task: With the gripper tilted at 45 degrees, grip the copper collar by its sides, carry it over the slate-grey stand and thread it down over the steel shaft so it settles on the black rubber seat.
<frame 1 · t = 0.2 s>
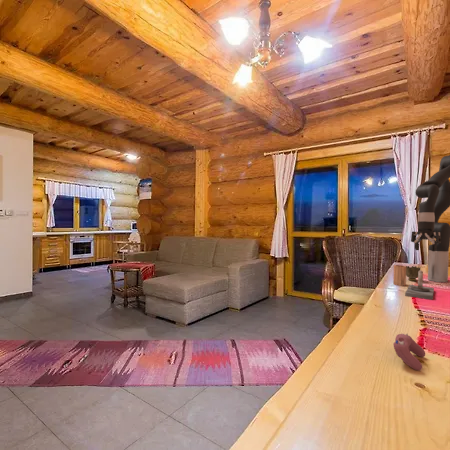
hand: (425, 250, 155), 18 cm above the table, tool pointing down, fingers open, 8 cm apart
cup: (412, 281, 161), on the table
copper collar: (399, 284, 151), on the table
shaft stand: (420, 293, 133), on the table
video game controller: (408, 361, 69), on the table
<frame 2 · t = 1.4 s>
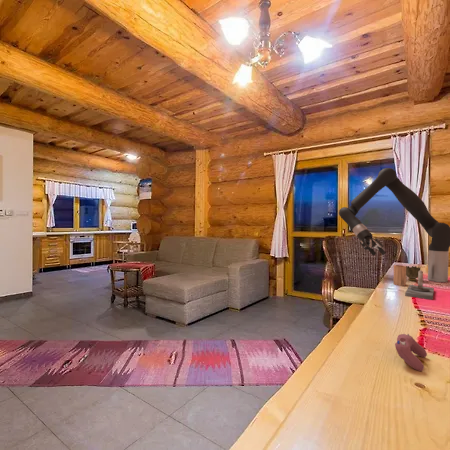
hand: (379, 254, 161), 15 cm above the table, tool tilted 45°, fingers open, 8 cm apart
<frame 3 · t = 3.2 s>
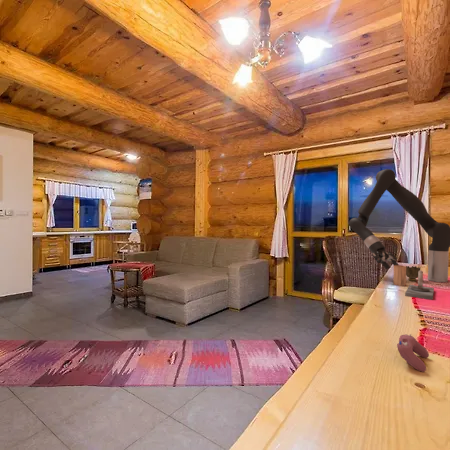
hand: (393, 267, 154), 8 cm above the table, tool tilted 45°, fingers open, 8 cm apart
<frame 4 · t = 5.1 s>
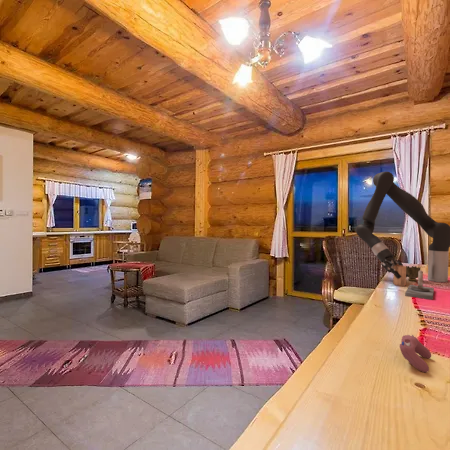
hand: (403, 277, 149), 4 cm above the table, tool tilted 45°, fingers closed on copper collar, 5 cm apart
copper collar: (399, 284, 151), on the table, touching gripper
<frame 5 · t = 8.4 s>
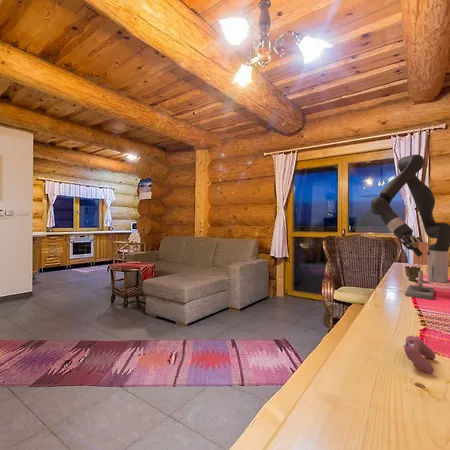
hand: (424, 255, 132), 18 cm above the table, tool tilted 45°, fingers closed on copper collar, 5 cm apart
copper collar: (420, 263, 133), point 14 cm above the table, touching gripper
when the fingers open (7 cm above the table, at t = 11.6 s): copper collar stays where it is, resting on shaft stand.
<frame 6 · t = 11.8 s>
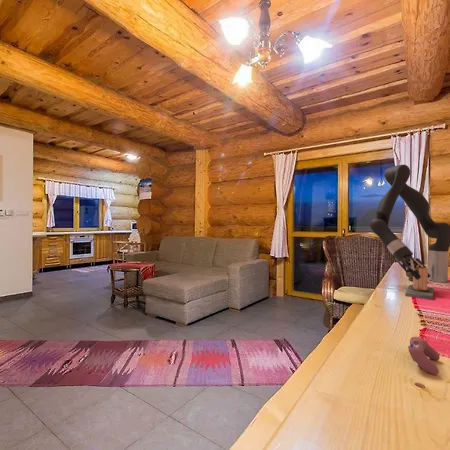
hand: (423, 277, 132), 8 cm above the table, tool tilted 45°, fingers open, 7 cm apart
copper collar: (419, 288, 133), point 2 cm above the table, touching shaft stand
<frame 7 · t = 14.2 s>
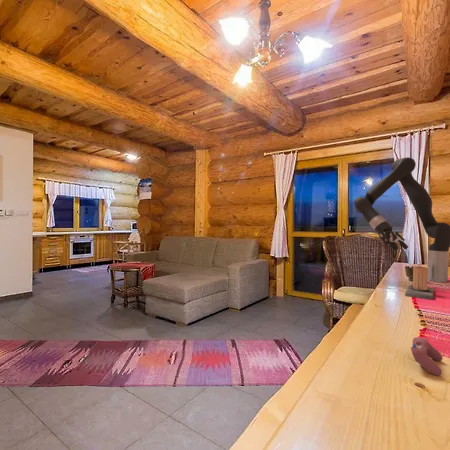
hand: (401, 248, 143), 20 cm above the table, tool tilted 45°, fingers open, 8 cm apart
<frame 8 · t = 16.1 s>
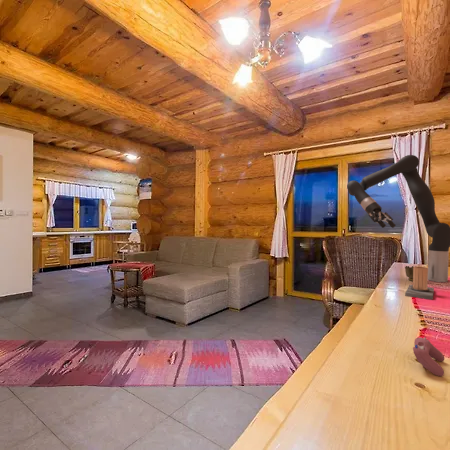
hand: (389, 226, 155), 31 cm above the table, tool tilted 45°, fingers open, 8 cm apart
at the end: copper collar 0.1 cm from the shaft stand (horizontally); copper collar point 2.1 cm above the table; copper collar tilted 0° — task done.
